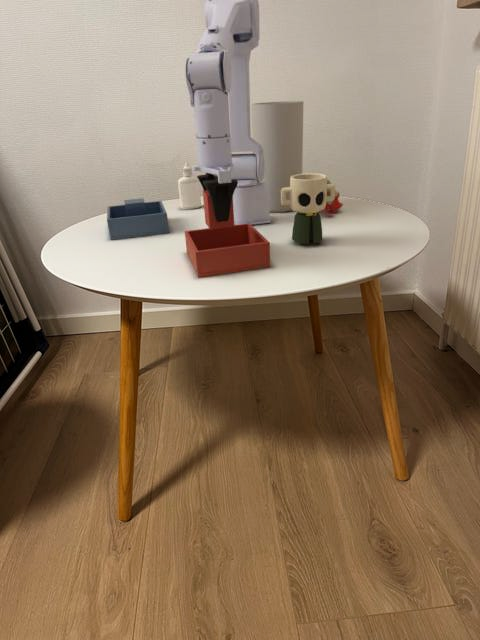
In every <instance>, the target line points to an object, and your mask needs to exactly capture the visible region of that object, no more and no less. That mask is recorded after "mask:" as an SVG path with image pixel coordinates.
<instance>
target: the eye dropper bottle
mask: <svg viewBox="0 0 480 640" xmlns="http://www.w3.org/2000/svg"><path fill="white" fill-rule="evenodd" d="M181 169H182V177H180V178H179V179H178V180H177V188H178V196H179V205H180V208H181V210H194V209H198V208H201V207H202V199H201V189H200V181H199V180H198V178H197V176H194V175H193V170H192V166H190V164H189V162H188V161H185V162H184V166H183V167H182V168H181Z"/></svg>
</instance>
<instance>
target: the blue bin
mask: <svg viewBox="0 0 480 640" xmlns="http://www.w3.org/2000/svg"><path fill="white" fill-rule="evenodd" d="M144 202H145V208H146V215H140V216H131V217H127V215H126V209H125V204H117V205H109V206H107V209H106V210H107V211H106V223H107V228H108V233H109V239H110V240H111V241H114V240H115V241H116V240H121V239H130V238H131V239H132V238H137V237H138V238H139V237H148V236H154V235H155V236H156V235H162V234H163V235H164V234H170V227H169V226H170V225H169V220H168V212H167V211H166V209H165V206H164V203H163V201H162V200H155V201H144Z"/></svg>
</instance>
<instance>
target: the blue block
mask: <svg viewBox="0 0 480 640" xmlns="http://www.w3.org/2000/svg"><path fill="white" fill-rule="evenodd" d="M123 201H124V205H125V209H126V215H127V217H131V216H140V215H146V208H145V202H146V201H145V198H144V197H142V198H141V197H140V198H132V199H124V200H123Z"/></svg>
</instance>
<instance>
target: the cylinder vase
mask: <svg viewBox="0 0 480 640" xmlns="http://www.w3.org/2000/svg"><path fill="white" fill-rule="evenodd" d="M250 112H251V134H252V135H251V138H253V139H254V140H255V141H256V142H258V143H259V144H260V145H261V146H262V148H263V156H264V179H263V180H262V181H261V182H265V183H266V184H267V186H268V190H269V206H270V213H287V212H292V211H293V210H292V209H291V207H290V205H282V204H281V189H282V188H287V187H290V177H291V176H293V175H297V174H303V156H304V155H303V153H304V152H303V150H304V149H303V148H304V147H303V145H304V100H288V101H287V100H286V101H269V102H257V103H250ZM252 154H254V153H253V152H252ZM286 200H290V192H288V193H286Z"/></svg>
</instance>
